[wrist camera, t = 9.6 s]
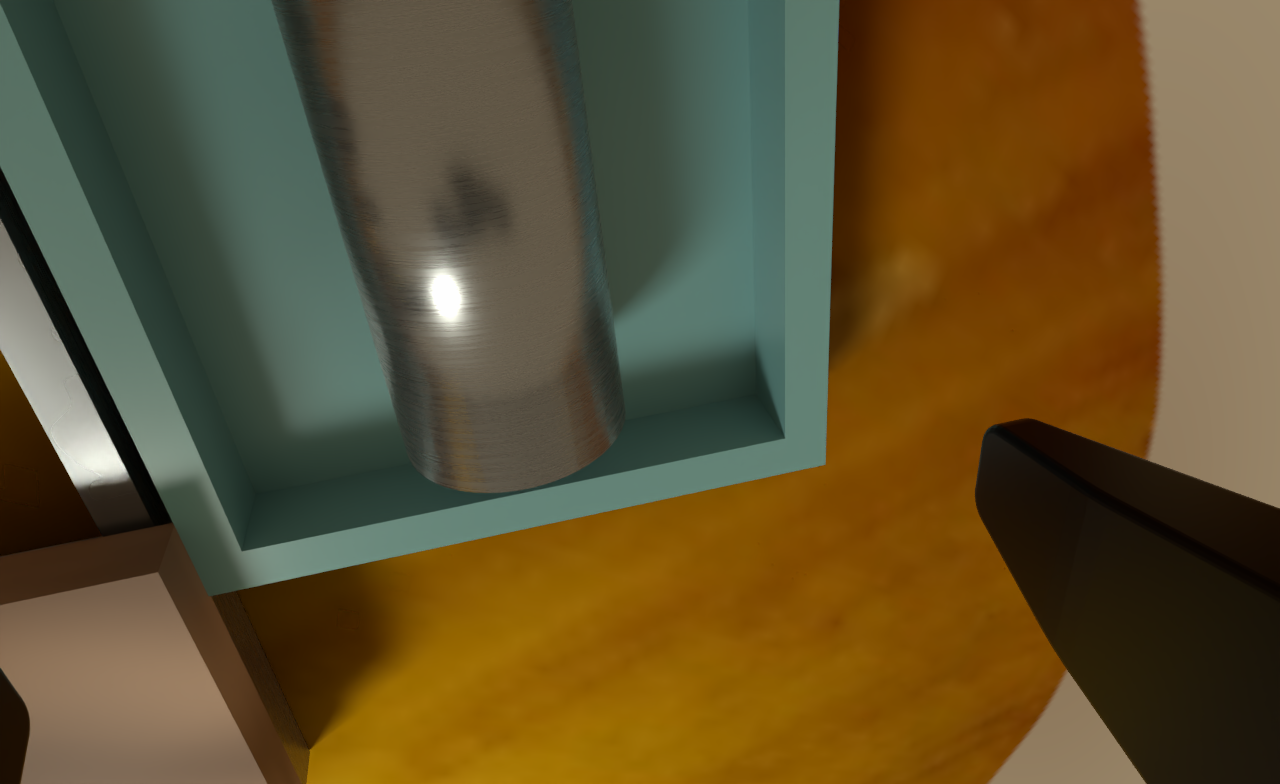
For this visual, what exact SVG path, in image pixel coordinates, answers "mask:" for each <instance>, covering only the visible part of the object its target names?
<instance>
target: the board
mask: <svg viewBox="0 0 1280 784" xmlns="http://www.w3.org/2000/svg"><path fill="white" fill-rule="evenodd" d="M0 668H1V669H2V671H3V672H4V674H5V675H6V676H7V678H8V679H9V681H10V682H11V683H12V685H13V686H14V688H15V689H16V691H17V692H18V693H19V695H20V696H21V698H22V699H23V701H24V702H25V704H26V707H27V709H28V712H29V718H30V735H29V741H28V747H27V752H26V758H25V763H24V769H23V774H22V779H21V784H302V783H301V781H300V779H299V777H298V775H297V773H296V771H295V769H294V767H293V765H292V763H291V761H290V759H289V757H288V754H287V752H286V750H285V748H284V746H283V744H282V742H281V740H280V738H279V736H278V734H277V732H276V730H275V728H274V725H273V723H272V721H271V719H270V717H269V715H268V713H267V711H266V709H265V707H264V705H263V703H262V701H261V699H260V697H259V694H258V692H257V690H256V688H255V686H254V684H253V682H252V680H251V678H250V676H249V674H248V672H247V670H246V668H245V665H244V663H243V661H242V659H241V657H240V655H239V653H238V651H237V649H236V647H235V645H234V643H233V641H232V639H231V636H230V634H229V632H228V630H227V628H226V626H225V624H224V622H223V620H222V618H221V616H220V614H219V612H218V610H217V607H216V605H215V603H214V601H213V599H212V597H211V596H208V594H207V592H206V590H205V588H204V586H203V584H202V582H201V579H200V577H199V575H198V573H197V571H196V569H195V567H194V565H193V563H192V561H191V559H190V557H189V555H188V553H187V551H186V549H185V546H184V544H183V542H182V540H181V538H180V536H179V534H178V532H177V530H176V528H175V526H174V524H173V523H170V524H165V525H160V526H155V527H150V528H145V529H140V530H135V531H130V532H125V533H120V534H115V535H110V536H105V537H103V536H99V537H94V538H89V539H84V540H79V541H74V542H69V543H64V544H59V545H54V546H49V547H44V548H39V549H34V550H29V551H24V552H19V553H14V554H9V555H4V556H0Z"/></svg>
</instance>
